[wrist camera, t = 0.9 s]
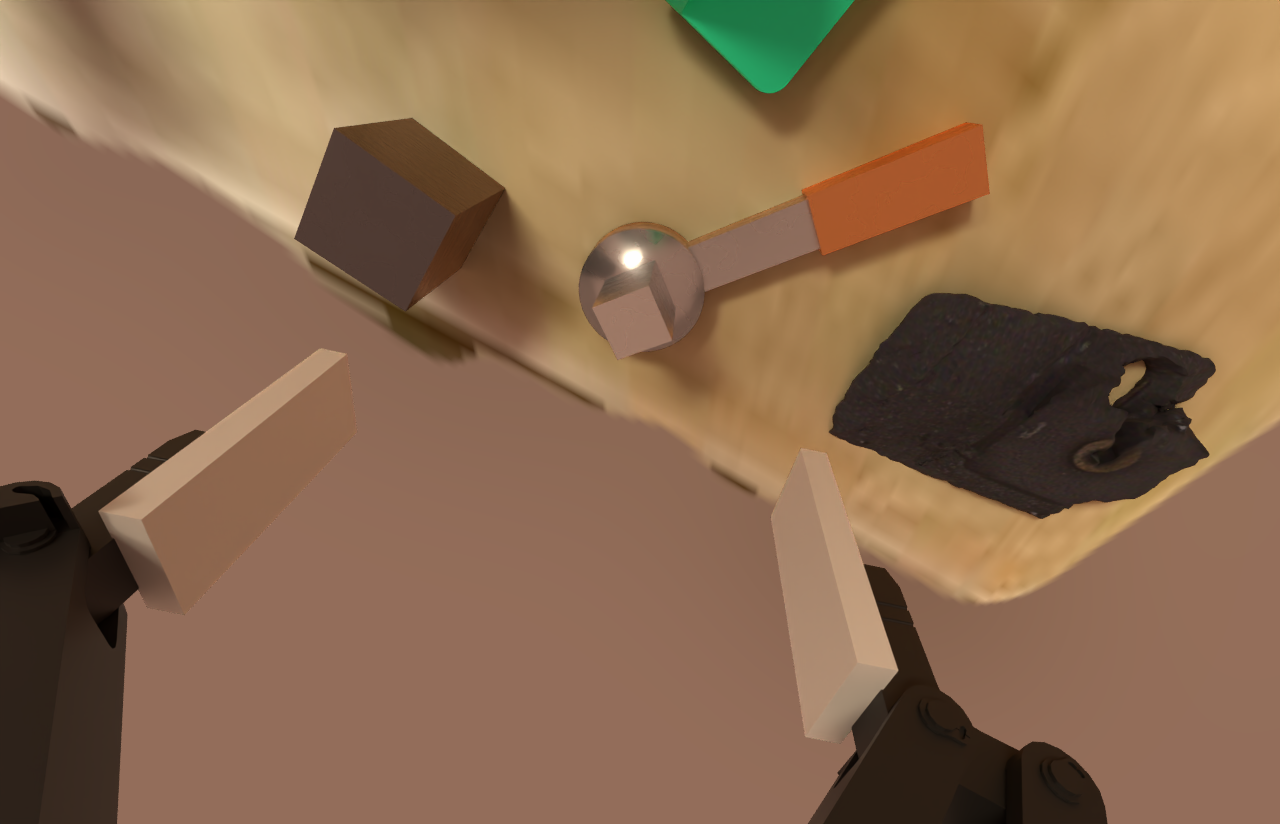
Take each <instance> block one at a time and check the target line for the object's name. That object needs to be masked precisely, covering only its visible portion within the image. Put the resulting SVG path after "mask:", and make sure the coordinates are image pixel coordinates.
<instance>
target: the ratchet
mask: <svg viewBox="0 0 1280 824" xmlns="http://www.w3.org/2000/svg"><path fill="white" fill-rule="evenodd" d="M802 193H803V195H801V196H799V197H797V198H794V199H792V200H789V201H787V202H784V203H782V204H779V205H777V206H774V207H772V208H770V209H767V210H765V211H762V212H760V213H757V214H755V215H752V216H750V217H747V218H745V219H743V220H740V221H738V222H735V223H733V224H730V225H728V226H725V227H723V228H720V229H718V230H716V231H713V232H711V233H708V234H706V235H703V236H701V237H698V238H696V239H694V240H691V241H689V242H688V241H687V240H686V239H685V238H684V237H682V236H681V235H680V234H678V233H677V232H676V231H674V230H672V229H670V228H668V227H666V226H663V225H660V224H656V223H650V222H635V223H630V224H626V225H623V226H620V227H618V228H616V229H614V230H612V231H611V232H609V233H608V234H606V235H605V236H604V237H603V238H602V239H601V240H600V241H599V242H598V243H597V245H596V246H595V247H594V249H593V250H592V252H591V253H590V255H589V256H588V258H587V260H586V262H585V264H584V266H583V268H582V271H581V275H580V281H579V296H580V302H581V306H582V309H583V311H584V314H585V316H586V318H587V319H588V321H589V323H590V324H591V325H592V327H593V328H594V329H595V330H596V331H597V332H598V333H599V334H600V335H601V336H602V337H603V338H605V339H606V340H607V341H609V343H610V345H611V347H612V349H613V351H614V354H615V356H616V358H617V360H619V359H622V358H625V357H627V356H630V355H633V354H636V353H639V352H645V351H655V350H660V349H663V348H666V347H668V346H671V345H673V344H674V343H676V342H678V341H679V340H681V339H682V338H683V337H685V336H686V335H687V334H688V333H689V332H690V330H691V329H692V328H693V326H694V325H695V323H696V322H697V320H698V318H699V316H700V313H701V311H702V307H703V303H704V292H706V291H709V290H711V289H714V288H717V287H719V286H722V285H725V284H727V283H730V282H733V281H735V280H738V279H741V278H743V277H746V276H749V275H751V274H754V273H757V272H759V271H762V270H765V269H767V268H770V267H773V266H775V265H778V264H781V263H783V262H786V261H789V260H791V259H794V258H796V257H799V256H802V255H804V254H807V253H810V252H812V251H815V250H819V251H820V252H821V254H822V255H826V254H829V253H831V252H834V251H837V250H839V249H842V248H845V247H847V246H850V245H853V244H855V243H858V242H861V241H864V240H866V239H869V238H872V237H874V236H877V235H880V234H882V233H885V232H888V231H890V230H893V229H896V228H899V227H901V226H904V225H907V224H909V223H912V222H915V221H917V220H920V219H923V218H925V217H928V216H931V215H933V214H936V213H939V212H942V211H944V210H947V209H950V208H952V207H955V206H958V205H960V204H963V203H966V202H968V201H971V200H974V199H977V198H979V197H982V196H985V195H987V194H990V192H989V183H988V174H987V164H986V155H985V146H984V136H983V127H982V125H980V124H974V123H967V122H966V123H963V124H961V125H958V126H956V127H954V128H951V129H949V130H946V131H944V132H941V133H939V134H937V135H934V136H932V137H929V138H927V139H924V140H922V141H920V142H917V143H915V144H912V145H910V146H907V147H905V148H902V149H900V150H898V151H895V152H893V153H890V154H888V155H885V156H883V157H881V158H878V159H876V160H873V161H871V162H868V163H866V164H864V165H861V166H859V167H856V168H854V169H851V170H849V171H846V172H844V173H842V174H839V175H837V176H834V177H832V178H829V179H827V180H825V181H822V182H820V183H817V184H815V185H812V186H810V187H808V188H805V189H803V190H802Z"/></svg>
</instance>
